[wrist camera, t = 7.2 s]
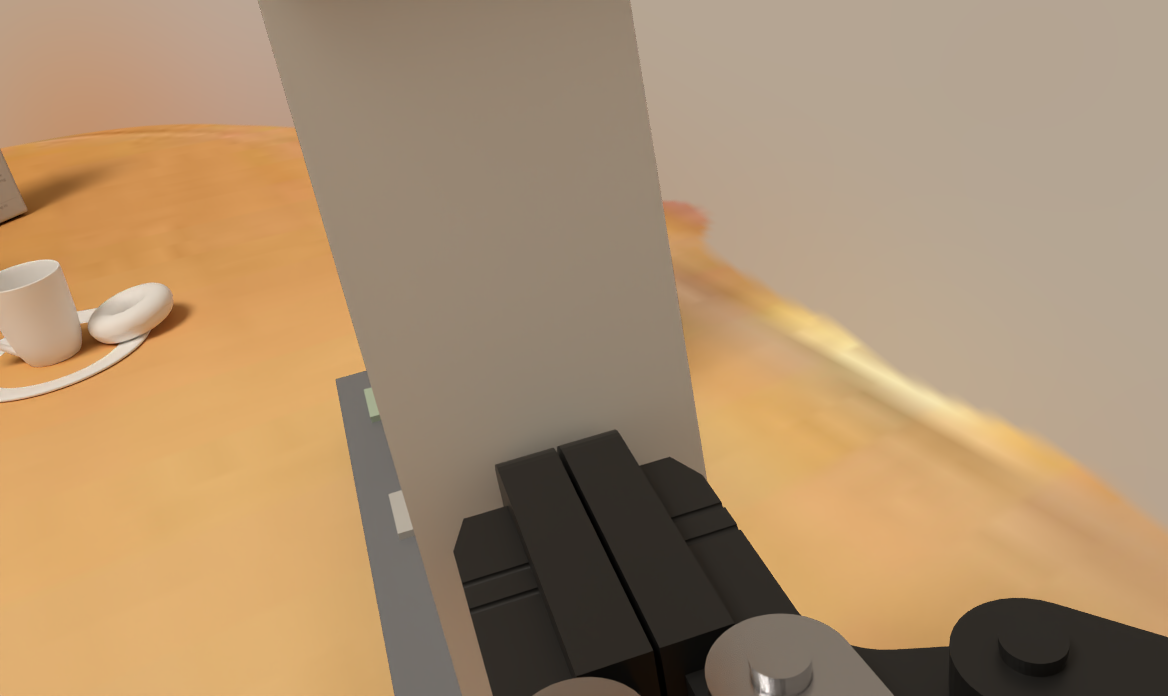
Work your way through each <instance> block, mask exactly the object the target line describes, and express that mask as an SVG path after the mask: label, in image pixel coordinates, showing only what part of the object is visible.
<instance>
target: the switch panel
mask: <svg viewBox="0 0 1168 696" xmlns="http://www.w3.org/2000/svg"><path fill="white" fill-rule="evenodd" d="M336 385H337V390H338V395H339V401H340V406H341V411H342V417H343V422H344V427H345V433H346V438H347V443H348V449H349V454H350V459H351V465H352V470H353V476H354V481H355V486H356V492H357V497H358V502H359V508H360V513H361V518H362V524H363V529H364V534H365V540H366V545H367V550H368V556H369V561H370V566H371V572H372V577H373V582H374V588H375V593H376V598H377V604H378V609H379V614H380V620H381V625H382V630H383V636H384V641H385V646H386V652H387V657H388V663H389V668H390V673H391V679H392V684H393V689H394V695H395V696H462V693H461V690H460V687H459V683H458V680H457V676H456V673H455V670H454V666H453V663H452V659H451V656H450V653H449V649H448V646H447V642H446V639H445V636H444V632H443V629H442V625H441V622H440V619H439V615H438V612H437V608H436V605H435V602H434V598H433V595H432V591H431V588H430V585H429V581H428V578H427V574H426V571H425V568H424V564H423V561H422V557H421V554H420V551H419V547H418V544H417V540H416V537H415V534H414V530H413V527H412V523H411V520H410V517H409V513H408V510H407V506H406V503H405V500H404V496H403V493H402V489H401V486H400V483H399V479H398V476H397V472H396V469H395V466H394V462H393V459H392V455H391V452H390V449H389V445H388V442H387V438H386V435H385V432H384V428H383V425H382V421H381V418H380V415H379V411H378V408H377V404H376V401H375V398H374V394H373V391H372V387H371V384H370V380H369V377H368V374H367V371H364V372H360V373H356V374H353V375H349V376H346V377H342V378H338V379H336Z"/></svg>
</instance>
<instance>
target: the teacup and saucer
mask: <svg viewBox="0 0 1168 696" xmlns="http://www.w3.org/2000/svg"><path fill="white" fill-rule="evenodd" d="M172 307H173V295H172V292H171V290H170V289H169V288H168V287H166V286H165V285H163V284H160V283H146V284H142V285H138V286H134V287H131V288H129V289H126V290H124V291H122V292H120V293H118V294H116V295H114V296H113V297H111V298H110V299H108V300H107V301H105V302H104V303H103V304H101V305H100V306H99V307H98V308H95V309H88V310H83V311H78V312H77V311H76V308H75V305H74V302H73V299H72V296H71V293H70V290H69V288H68V285H67V282H66V279H65V277H64V274H63V271H62V269H61V266H60V264H59V263H58V262H57V261H55V260H37V261H31V262H27V263H23V264H19V265H16V266H13V267H10V268H7V269H5V270H2V271H0V330H1V332H2V334H3V335H4V337H5V338H3V339H1V340H0V356H1V355H2V354H4V353H5V352H6V353H9V354H12V355H15V356H19V357H20V358H22V359H23V360H24V361H25V362H26V363H27V364H29V365H30V366H33V367H44V366H49V365H53V364H56V363H59V362H62V361H64V360H66V359H68V358H70V357H72V356H73V355H75V354H76V353H77V352H78V351H79V350H80V349H81V345H82V331H81V326H80V323H87V322H88V330H89V333H90V335H91V336H93V337H94V338H95V339H96V340H98V341H100V342H102V343H107V344H115V343H120V344H119V345H118V346H117V347H116V348H115V349H114V350H113V351H111V352H110V353H109V354H108V355H106V356H105V357H103V358H102V359H100V360H99V361H97V362H95V363H93V364H92V365H90V366H88V367H86V368H84V369H82V370H79V371H77V372H75V373H72V374H70V375H67V376H65V377H62V378H59V379H56V380H53V381H50V382H46V383H42V384H38V385H33V386H28V387H21V388H0V402H7V401H14V400H20V399H25V398H29V397H34V396H38V395H42V394H45V393H49V392H52V391H55V390H58V389H61V388H64V387H67V386H69V385H72V384H75V383H77V382H80V381H82V380H84V379H87V378H89V377H91V376H93V375H95V374H97V373H99V372H101V371H103V370H105V369H107V368H109V367H110V366H112V365H114V364H115V363H117V362H119V361H120V360H122V359H123V358H125V357H126V356H127V355H129V354H130V353H131V352H133V351H134V350H135V349H136V348H137V347H138V346H139V345H140V344H141V343H142V342H143V341H144V340H145V339H146V338H147V336H148V335H149V333H150V331H151V329H153V328H154V327H156V326H157V325H158V324H160V323H161V322H162V321H163V320H164V319H165V318H166V317H167V316H168V315H169V313H170V312H171V310H172Z"/></svg>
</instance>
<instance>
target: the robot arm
mask: <svg viewBox="0 0 1168 696" xmlns="http://www.w3.org/2000/svg"><path fill="white" fill-rule="evenodd" d="M495 471H496V476H497V481H498V485H499V489H500V493H501V497H502V501H503V506H504V507H501V508H498V509H494V510H491V511H488V512H484V513H481V514H478V515H474V516H471V517H468V518H464V519H463V522H462V525H461V528H460V531H459V535H458V538H457V541H456V544H455V547H454V550H453V553H454V556H455V560H456V563H457V567H458V571H459V574H460V578H461V582H462V585H463V589H464V593H465V596H466V600H467V604H468V607H469V611H470V615H471V618H472V622H473V626H474V629H475V633H476V636H477V640H478V644H479V647H480V651H481V655H482V658H483V662H484V666H485V669H486V673H487V677H488V680H489V684H490V688H491V691H492V695H493V696H1168V637H1165V636H1162V635H1158V634H1155V633H1152V632H1148V631H1145V630H1142V629H1138V628H1135V627H1132V626H1128V625H1125V624H1122V623H1118V622H1115V621H1111V620H1108V619H1105V618H1101V617H1098V616H1095V615H1091V614H1088V613H1085V612H1081V611H1078V610H1074V609H1071V608H1068V607H1064V606H1061V605H1058V604H1054V603H1050V602H1046V601H1042V600H1036V599H1028V598H1008V599H999V600H995V601H991V602H987V603H984V604H982V605H979V606H977V607H975V608H973V609H972V610H970V611H968V612H967V613H966V614H964V615H963V616H962V617H961V618H960V619H959V620H958V622H957V623H956V625H955V626H954V628H953V630H952V633H951V636H950V644H949V646H948V647H931V648H915V649H898V650H876V649H867V648H861V647H856V646H852V645H850V644H849V643H848V642H847V641H846V640H845V639H844V638H843V637H842V636H841V635H840V634H839V633H838V632H837V631H835V630H834V629H832V628H831V627H829V626H828V625H826V624H824V623H822V622H820V621H817V620H814V619H811V618H808V617H805V616H801V615H800V614H799V612H798V611H797V610H796V608H795V607H794V605H793V604H792V603H791V601H790V600H789V598H788V597H787V595H786V594H785V593H784V591H783V590H782V588H781V587H780V585H779V584H778V583H777V581H776V580H775V578H774V577H773V575H772V574H771V572H770V571H769V570H768V568H767V567H766V565H765V564H764V562H763V561H762V560H761V558H760V557H759V555H758V554H757V552H756V551H755V550H754V548H753V547H752V545H751V544H750V542H749V541H748V540H747V538H746V537H745V535H744V534H743V532H742V531H741V530H738V527H737V524H736V522H735V521H734V519H733V518H732V517H731V515H730V514H729V512H728V511H727V509H726V508H725V507H724V508H723V506H722V503H721V501H720V499H719V498H718V496H717V495H716V494H715V492H714V491H713V489H712V488H711V486H710V485H709V484H708V482H707V481H706V479H705V478H704V476H703V475H702V474H700V473H698V472H696V471H695V470H693V469H691V468H689V467H687V466H686V465H684V464H682V463H680V462H679V461H677V460H675V459H673V458H671V457H667V458H663V459H660V460H657V461H653V462H650V463H647V464H644V465H640V466H639V464H638V463H637V461H636V460H635V458H634V456H633V455H632V453H631V451H630V450H629V448H628V446H627V445H626V443H625V441H624V440H623V438H622V436H621V435H620V433H619V432H618V431H617V430H616V429H614V430H611V431H607V432H604V433H601V434H597V435H594V436H590V437H587V438H583V439H580V440H577V441H573V442H570V443H566V444H563V445H560V446H557V452H556V450H555V449H554V448H550V449H547V450H543V451H540V452H536V453H533V454H530V455H526V456H523V457H519V458H516V459H512V460H509V461H506V462H502V463H499V464H495Z"/></svg>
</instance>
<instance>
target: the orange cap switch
mask: <svg viewBox="0 0 1168 696" xmlns="http://www.w3.org/2000/svg"><path fill="white" fill-rule="evenodd" d="M258 3H259V6H260V10H261V13H262V16H263V20H264V23H265V27H266V30H267V34H268V37H269V40H270V44H271V47H272V51H273V54H274V57H275V61H276V64H277V68H278V71H279V74H280V78H281V81H282V85H283V88H284V91H285V95H286V98H287V102H288V105H289V108H290V112H291V115H292V118H293V122H294V125H295V129H296V132H297V136H298V139H299V142H300V146H301V149H302V153H303V156H304V159H305V163H306V166H307V170H308V173H309V176H310V180H311V183H312V187H313V190H314V193H315V197H316V200H317V204H318V207H319V210H320V214H321V217H322V221H323V224H324V227H325V231H326V234H327V238H328V241H329V244H330V248H331V251H332V255H333V258H334V261H335V265H336V268H337V272H338V275H339V278H340V282H341V285H342V289H343V292H344V295H345V299H346V302H347V306H348V309H349V312H350V316H351V319H352V323H353V326H354V329H355V333H356V336H357V340H358V343H359V346H360V350H361V353H362V357H363V360H364V363H365V367H366V370H367V374H368V377H369V380H370V384H371V387H372V391H373V394H374V398H375V401H376V404H377V408H378V411H379V415H380V418H381V421H382V425H383V428H384V432H385V435H386V438H387V442H388V445H389V449H390V452H391V455H392V459H393V462H394V466H395V469H396V472H397V476H398V479H399V483H400V486H401V489H402V493H403V496H404V500H405V503H406V506H407V510H408V513H409V517H410V520H411V523H412V527H413V530H414V534H415V537H416V540H417V544H418V547H419V551H420V554H421V557H422V561H423V564H424V568H425V571H426V574H427V578H428V581H429V585H430V588H431V591H432V595H433V598H434V602H435V605H436V608H437V612H438V615H439V619H440V622H441V625H442V629H443V632H444V636H445V639H446V642H447V646H448V649H449V653H450V656H451V659H452V663H453V666H454V670H455V673H456V676H457V680H458V683H459V687H460V690H461V693H462V696H493V695H492V691H491V688H490V684H489V680H488V677H487V673H486V669H485V666H484V662H483V658H482V655H481V651H480V647H479V644H478V640H477V636H476V633H475V629H474V626H473V622H472V618H471V615H470V611H469V607H468V604H467V600H466V596H465V593H464V589H463V585H462V582H461V578H460V574H459V571H458V567H457V563H456V560H455V556H454V553H453V550H454V547H455V544H456V541H457V538H458V535H459V531H460V528H461V525H462V522H463V519H464V518H468V517H471V516H474V515H478V514H481V513H484V512H488V511H491V510H494V509H498V508H501V507H504V506H503V501H502V497H501V493H500V489H499V485H498V481H497V476H496V471H495V464H499V463H502V462H506V461H509V460H512V459H516V458H519V457H523V456H526V455H530V454H533V453H536V452H540V451H543V450H547V449H550V448H554V449H555V450H556V452H557V446H560V445H563V444H566V443H570V442H573V441H577V440H580V439H583V438H587V437H590V436H594V435H597V434H601V433H604V432H607V431H611V430H614V429H616V430H617V431H618V432H619V433H620V435H621V436H622V438H623V440H624V441H625V443H626V445H627V446H628V448H629V450H630V451H631V453H632V455H633V456H634V458H635V460H636V461H637V463H638V464H639V466H640V465H644V464H647V463H650V462H653V461H657V460H660V459H663V458H667V457H671V458H673V459H675V460H677V461H679V462H680V463H682V464H684V465H686V466H687V467H689V468H691V469H693V470H695V471H696V472H698V473H700V474H702V475H703V476H704V478H705V479H706V481H707V477H706V471H705V464H704V458H703V452H702V446H701V439H700V433H699V427H698V421H697V415H696V408H695V402H694V396H693V390H692V384H691V377H690V371H689V365H688V359H687V352H686V346H685V340H684V334H683V328H682V321H681V315H680V309H679V303H678V296H677V290H676V284H675V278H674V272H673V265H672V259H671V253H670V247H669V240H668V234H667V228H666V222H665V216H664V209H663V203H662V197H661V191H660V184H659V179H658V172H657V166H656V160H655V153H654V147H653V141H652V135H651V128H650V123H649V116H648V110H647V104H646V97H645V91H644V85H643V79H642V72H641V66H640V60H639V54H638V48H637V41H636V35H635V29H634V23H633V16H632V10H631V4H630V0H258Z"/></svg>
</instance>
